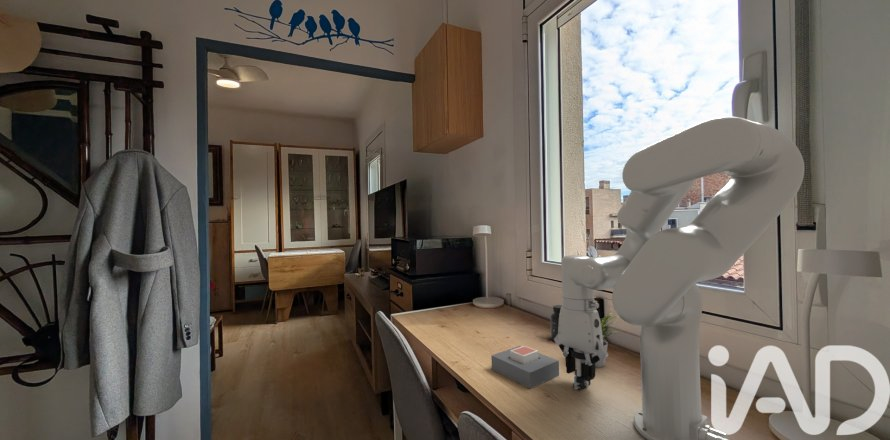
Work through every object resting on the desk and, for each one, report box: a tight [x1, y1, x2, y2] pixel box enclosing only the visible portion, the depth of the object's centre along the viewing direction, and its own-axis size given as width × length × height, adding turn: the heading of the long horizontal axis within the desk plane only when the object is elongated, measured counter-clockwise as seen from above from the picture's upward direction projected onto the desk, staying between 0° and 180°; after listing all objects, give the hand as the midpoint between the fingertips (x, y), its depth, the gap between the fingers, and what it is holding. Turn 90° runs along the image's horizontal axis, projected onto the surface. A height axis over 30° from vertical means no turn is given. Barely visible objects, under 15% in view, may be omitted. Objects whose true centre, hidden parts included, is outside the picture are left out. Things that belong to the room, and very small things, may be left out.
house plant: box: [586, 308, 619, 368], centre depth 94 cm, size 14×14×16 cm
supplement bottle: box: [550, 304, 563, 343], centre depth 114 cm, size 7×7×12 cm
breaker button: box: [510, 345, 539, 365], centre depth 90 cm, size 5×6×4 cm
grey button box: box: [491, 345, 560, 389], centre depth 89 cm, size 14×12×4 cm
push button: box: [570, 348, 591, 390], centre depth 81 cm, size 7×5×10 cm
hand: (580, 374), depth 81 cm, fingers closed on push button, 4 cm apart
